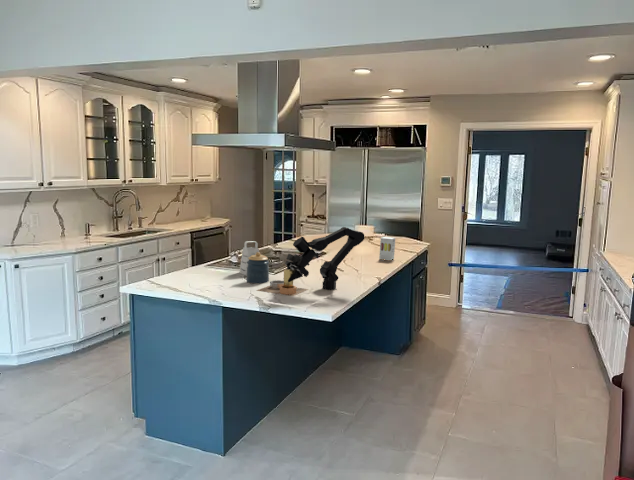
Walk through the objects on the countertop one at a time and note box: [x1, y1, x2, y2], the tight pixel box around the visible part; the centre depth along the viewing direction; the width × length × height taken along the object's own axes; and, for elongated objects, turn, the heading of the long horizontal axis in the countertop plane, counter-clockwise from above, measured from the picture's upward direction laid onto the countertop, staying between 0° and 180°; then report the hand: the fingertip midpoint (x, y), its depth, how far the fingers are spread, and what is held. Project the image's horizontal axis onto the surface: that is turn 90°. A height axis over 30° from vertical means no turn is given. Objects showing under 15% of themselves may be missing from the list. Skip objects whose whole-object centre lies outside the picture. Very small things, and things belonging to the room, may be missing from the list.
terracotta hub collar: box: [280, 285, 298, 295], centre depth 270 cm, size 8×8×3 cm
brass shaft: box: [283, 268, 294, 288], centre depth 269 cm, size 5×5×11 cm
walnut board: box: [256, 285, 309, 297], centre depth 275 cm, size 22×18×1 cm
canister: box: [245, 251, 270, 284], centre depth 294 cm, size 13×13×18 cm
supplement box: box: [378, 236, 396, 261], centre depth 385 cm, size 10×9×17 cm
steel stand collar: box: [269, 279, 284, 289], centre depth 280 cm, size 8×8×3 cm
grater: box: [239, 240, 260, 277], centre depth 318 cm, size 10×10×20 cm
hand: (286, 280), depth 268 cm, fingers closed on brass shaft, 5 cm apart
